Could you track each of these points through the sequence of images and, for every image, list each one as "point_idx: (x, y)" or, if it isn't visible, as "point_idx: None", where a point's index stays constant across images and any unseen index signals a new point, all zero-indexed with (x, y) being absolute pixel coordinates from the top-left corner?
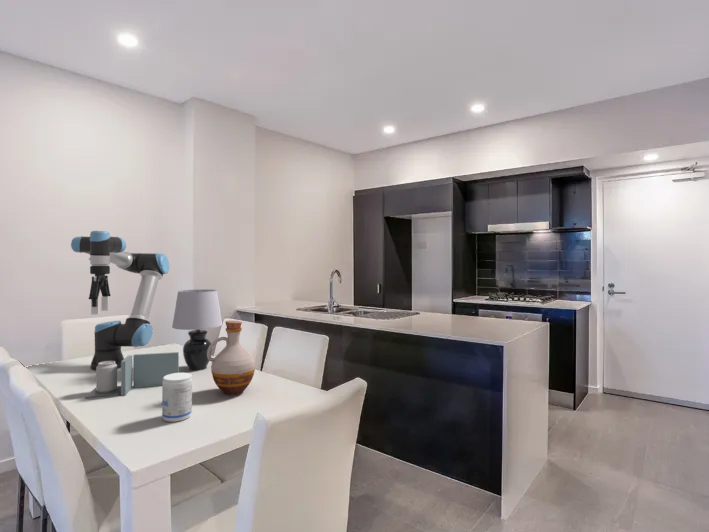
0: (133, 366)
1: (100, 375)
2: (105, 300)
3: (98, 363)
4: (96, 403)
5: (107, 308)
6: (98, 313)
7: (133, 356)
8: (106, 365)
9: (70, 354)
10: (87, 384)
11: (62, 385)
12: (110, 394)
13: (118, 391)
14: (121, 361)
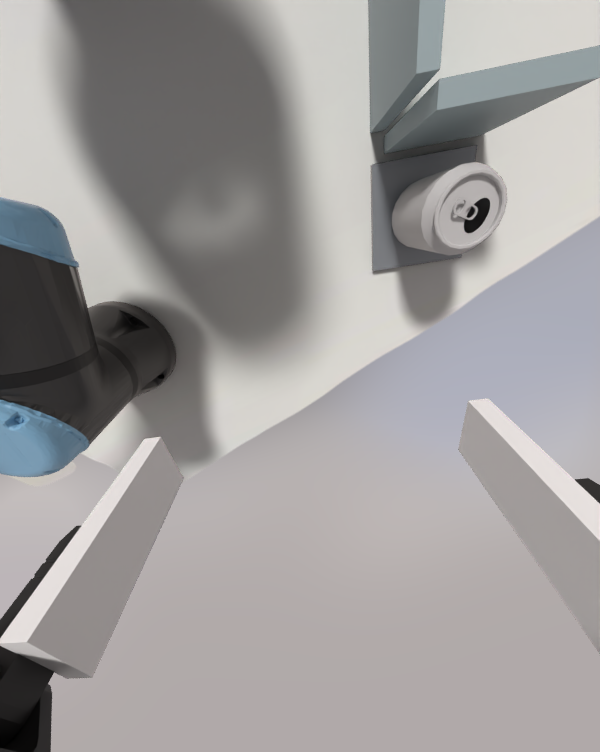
0: (413, 97)
1: (479, 222)
2: (101, 572)
3: (472, 245)
4: (529, 193)
5: (150, 456)
6: (486, 404)
7: (436, 72)
8: (502, 196)
9: (43, 482)
10: (318, 316)
11: (317, 372)
12: None
13: (442, 163)
14: (596, 75)
